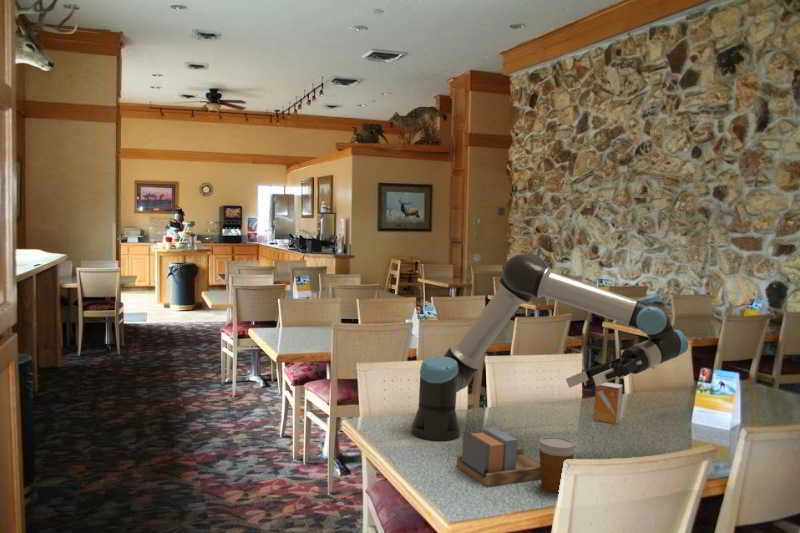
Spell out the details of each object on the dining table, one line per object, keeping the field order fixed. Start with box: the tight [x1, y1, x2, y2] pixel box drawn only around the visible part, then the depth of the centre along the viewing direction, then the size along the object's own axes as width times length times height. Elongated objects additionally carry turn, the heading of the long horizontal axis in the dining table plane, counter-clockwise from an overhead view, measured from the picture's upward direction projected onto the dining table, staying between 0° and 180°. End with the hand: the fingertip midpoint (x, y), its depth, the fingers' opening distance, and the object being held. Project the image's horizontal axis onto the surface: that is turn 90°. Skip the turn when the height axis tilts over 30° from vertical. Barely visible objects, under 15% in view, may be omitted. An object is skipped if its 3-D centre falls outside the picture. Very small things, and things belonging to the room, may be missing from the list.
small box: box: [592, 382, 623, 425], centre depth 236 cm, size 8×6×13 cm
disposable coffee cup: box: [537, 436, 577, 494], centre depth 170 cm, size 10×10×12 cm
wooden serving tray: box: [456, 447, 541, 487], centre depth 181 cm, size 22×15×3 cm
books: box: [471, 427, 518, 473], centre depth 178 cm, size 8×11×9 cm
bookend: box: [460, 431, 490, 478], centre depth 176 cm, size 2×11×8 cm, turn 26°
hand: (580, 382), depth 185 cm, fingers open, 13 cm apart
